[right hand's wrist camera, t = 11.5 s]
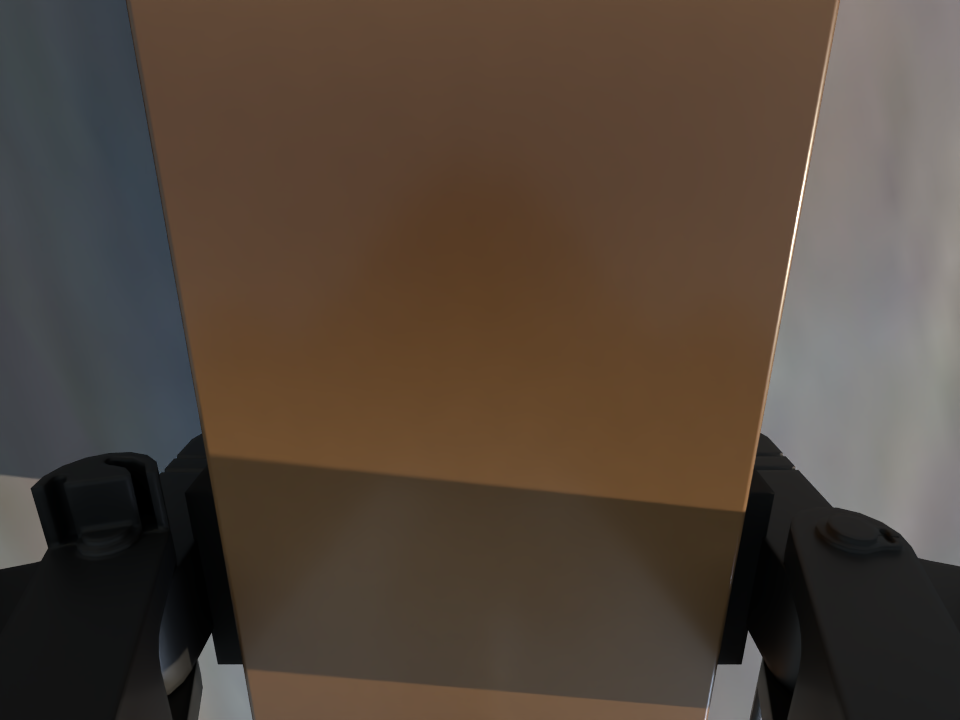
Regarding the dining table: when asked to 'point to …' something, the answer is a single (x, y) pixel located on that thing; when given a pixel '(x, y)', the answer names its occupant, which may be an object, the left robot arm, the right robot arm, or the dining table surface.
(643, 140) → the post
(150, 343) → the dining table surface
